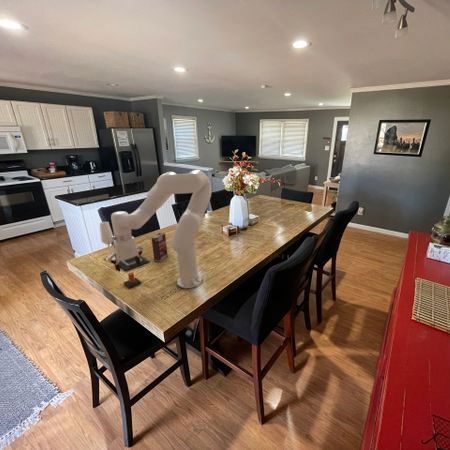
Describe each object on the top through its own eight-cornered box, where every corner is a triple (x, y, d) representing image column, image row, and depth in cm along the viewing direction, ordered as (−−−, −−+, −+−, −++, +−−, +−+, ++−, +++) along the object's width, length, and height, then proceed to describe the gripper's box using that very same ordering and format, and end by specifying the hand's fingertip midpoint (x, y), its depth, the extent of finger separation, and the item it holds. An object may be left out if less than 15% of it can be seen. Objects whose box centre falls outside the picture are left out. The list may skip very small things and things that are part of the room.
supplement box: (161, 261, 149) (157, 238, 144) (154, 261, 150) (150, 237, 145) (168, 255, 157) (165, 233, 152) (161, 254, 158) (158, 232, 153)
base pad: (148, 262, 148) (148, 259, 148) (125, 271, 138) (124, 268, 138) (138, 255, 157) (137, 252, 156) (115, 263, 147) (115, 260, 146)
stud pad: (140, 283, 127) (139, 273, 125) (129, 288, 123) (127, 278, 120) (135, 279, 130) (133, 269, 128) (124, 284, 126) (122, 273, 124)
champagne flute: (118, 255, 157) (111, 220, 149) (116, 259, 151) (109, 224, 143) (106, 256, 155) (98, 221, 147) (104, 261, 149) (96, 225, 141)
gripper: (107, 243, 109) (113, 276, 115) (144, 233, 121) (148, 263, 127) (101, 239, 113) (107, 270, 119) (137, 230, 126) (141, 259, 132)
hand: (128, 267), depth 123 cm, fingers open, 9 cm apart
